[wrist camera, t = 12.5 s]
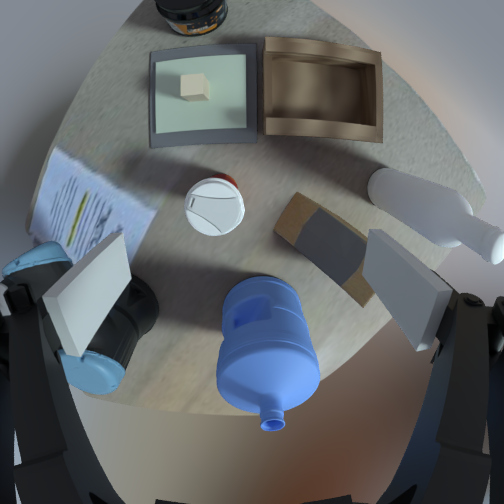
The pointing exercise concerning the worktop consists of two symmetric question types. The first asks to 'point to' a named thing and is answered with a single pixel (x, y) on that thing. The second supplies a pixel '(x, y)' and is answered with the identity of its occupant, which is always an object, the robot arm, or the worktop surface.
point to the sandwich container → (327, 244)
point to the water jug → (265, 351)
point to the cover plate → (201, 111)
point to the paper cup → (214, 205)
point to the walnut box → (322, 90)
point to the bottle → (434, 212)
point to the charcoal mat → (208, 134)
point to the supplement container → (193, 15)
